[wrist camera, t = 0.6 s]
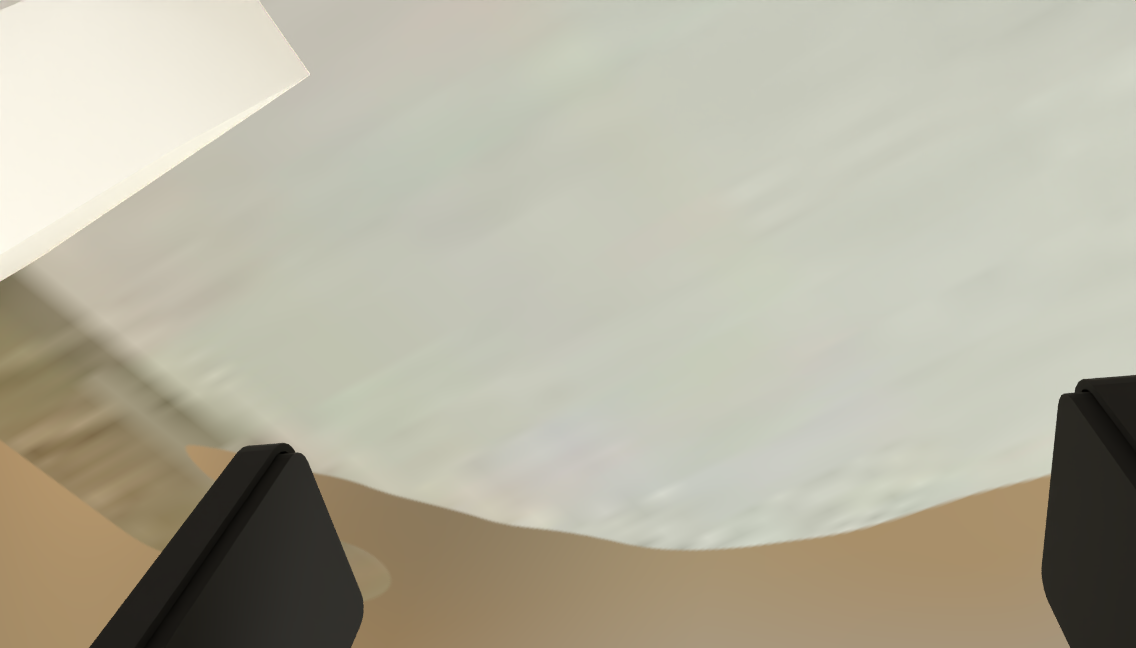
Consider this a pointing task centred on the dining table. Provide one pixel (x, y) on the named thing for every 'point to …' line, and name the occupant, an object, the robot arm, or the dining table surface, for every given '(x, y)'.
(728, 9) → the dining table surface
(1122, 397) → the robot arm
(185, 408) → the dining table surface
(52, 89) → the white u-shaped block
